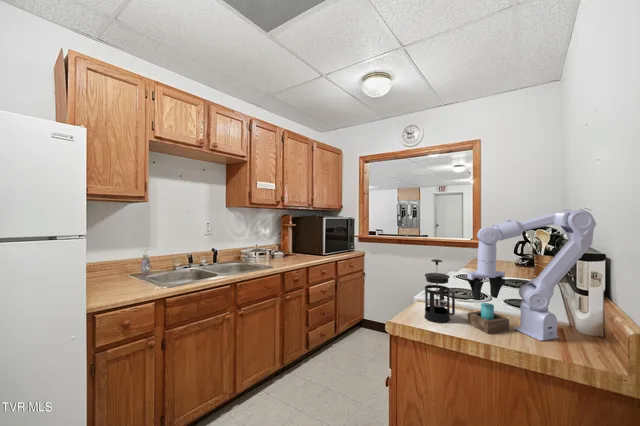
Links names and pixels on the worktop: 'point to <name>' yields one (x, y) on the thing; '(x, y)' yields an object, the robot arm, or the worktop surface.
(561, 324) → the worktop surface
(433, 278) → the french press
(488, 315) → the peg
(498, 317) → the socket block
